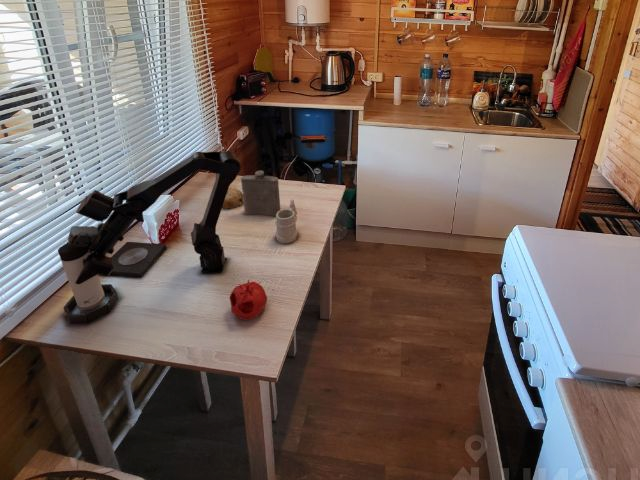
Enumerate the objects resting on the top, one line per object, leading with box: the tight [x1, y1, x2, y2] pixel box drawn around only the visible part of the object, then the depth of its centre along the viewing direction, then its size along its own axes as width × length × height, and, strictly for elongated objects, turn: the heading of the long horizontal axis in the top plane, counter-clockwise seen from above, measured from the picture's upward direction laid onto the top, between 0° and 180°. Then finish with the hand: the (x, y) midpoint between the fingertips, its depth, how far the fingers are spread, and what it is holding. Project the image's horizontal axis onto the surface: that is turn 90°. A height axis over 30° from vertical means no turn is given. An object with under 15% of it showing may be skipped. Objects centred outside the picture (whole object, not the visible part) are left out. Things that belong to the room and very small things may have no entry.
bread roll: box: [222, 187, 244, 209], centre depth 156 cm, size 10×10×8 cm
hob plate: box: [109, 241, 167, 278], centre depth 124 cm, size 14×14×2 cm
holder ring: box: [63, 283, 120, 325], centre depth 106 cm, size 12×12×2 cm
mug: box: [274, 199, 299, 244], centre depth 136 cm, size 8×12×12 cm, turn 165°
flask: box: [240, 170, 281, 217], centre depth 147 cm, size 4×14×18 cm, turn 86°
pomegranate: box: [229, 279, 268, 320], centre depth 104 cm, size 10×10×9 cm
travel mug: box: [57, 241, 106, 311], centre depth 102 cm, size 6×7×20 cm
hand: (76, 276), depth 102 cm, fingers closed on travel mug, 6 cm apart
